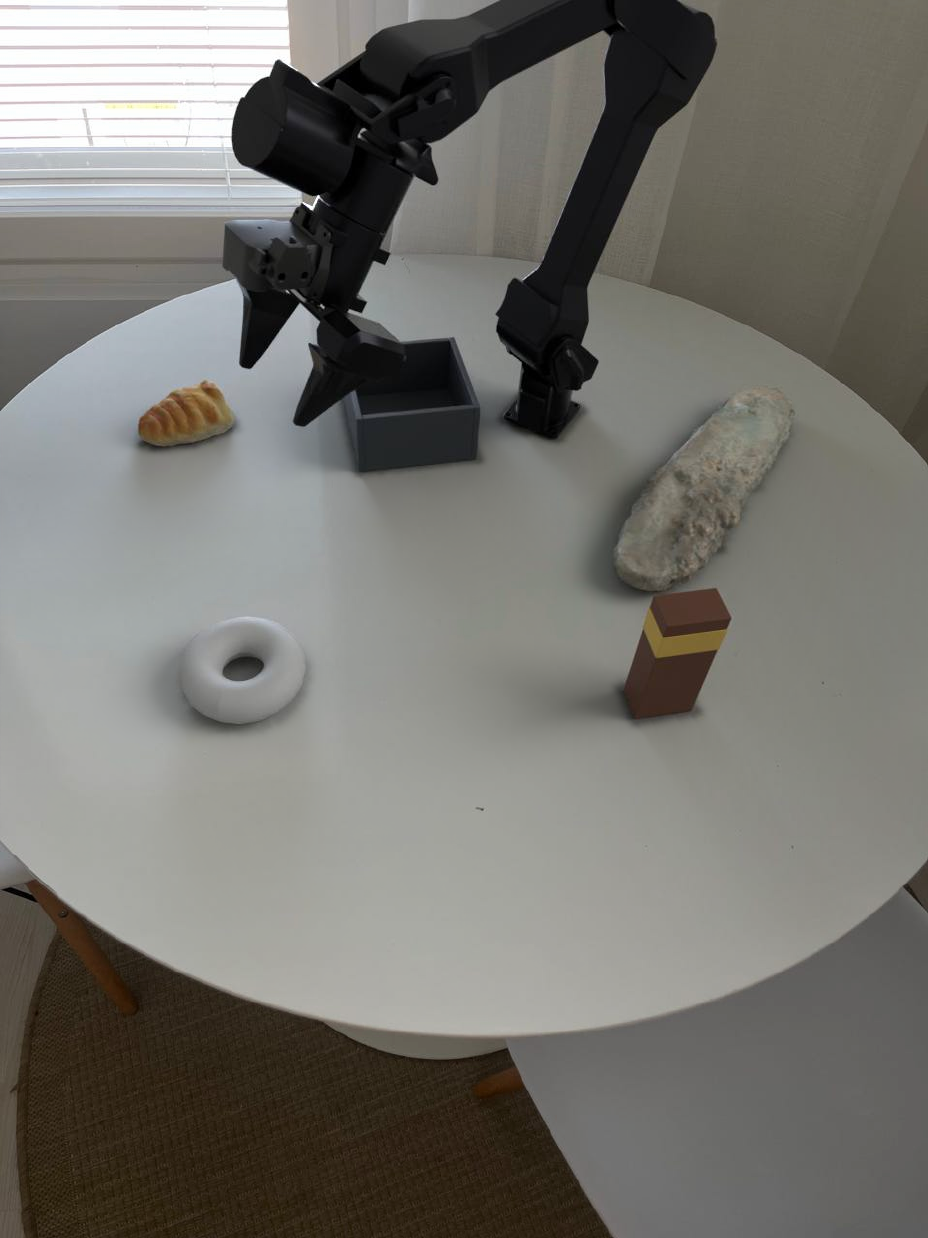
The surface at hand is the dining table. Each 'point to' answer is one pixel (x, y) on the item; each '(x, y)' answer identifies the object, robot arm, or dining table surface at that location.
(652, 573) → the long grey stone
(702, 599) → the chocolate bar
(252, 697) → the donut
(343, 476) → the dining table surface
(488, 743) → the dining table surface
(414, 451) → the waste bin
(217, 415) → the pastry
